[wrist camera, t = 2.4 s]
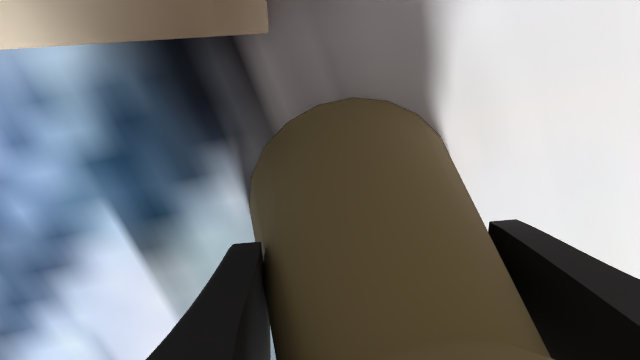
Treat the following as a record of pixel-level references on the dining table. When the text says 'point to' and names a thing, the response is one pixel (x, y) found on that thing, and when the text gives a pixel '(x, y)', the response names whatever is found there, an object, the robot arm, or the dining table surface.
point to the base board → (125, 20)
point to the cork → (379, 245)
